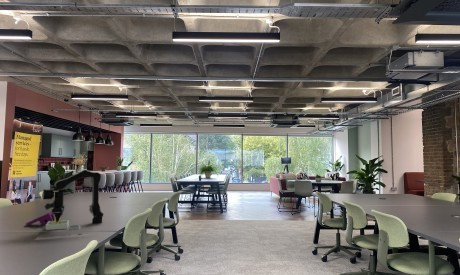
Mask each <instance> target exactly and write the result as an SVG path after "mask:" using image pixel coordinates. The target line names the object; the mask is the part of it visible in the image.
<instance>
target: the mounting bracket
mask: <svg viewBox="0 0 460 275" xmlns="http://www.w3.org/2000/svg"><path fill="white" fill-rule="evenodd" d="M49 221H55V215H54V214H53V213H52V210H51V211H49V212H47V213H45V214H43V215H40V216H38V217H36V218H34V219H32V220H30V221H28V222H26V223H25V226H26V227H28V226H31V225H33V224H35V223H37V222H39V224H40V225H41V226H42V227H46V224H47V223H48V222H49Z"/></svg>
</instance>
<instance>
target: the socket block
mask: <svg viewBox="0 0 460 275" xmlns="http://www.w3.org/2000/svg"><path fill="white" fill-rule="evenodd" d="M81 227H82V226H80V224H75V225H73V224H72V225H70V224H69V226H68V228H67V231H70V230H71V231H72V230H81Z"/></svg>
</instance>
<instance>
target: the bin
mask: <svg viewBox="0 0 460 275" xmlns="http://www.w3.org/2000/svg"><path fill="white" fill-rule="evenodd" d="M69 226H70V220H69V219H67V220H66V219H65V220H61V224H55V221H49V222H48V223H47V224H46V225H45V230H46V231H49V230H51V231H52V230H64V229H65V230H66V229H68V228H69Z"/></svg>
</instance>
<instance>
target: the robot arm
mask: <svg viewBox="0 0 460 275" xmlns="http://www.w3.org/2000/svg"><path fill="white" fill-rule="evenodd" d="M85 176H86V177H88V178H90V181H91V184H92V185H91V188H92V189H91V190H92V192H91V196H92V197H91V198H92V199H91V205H90V204H89V206H88V207H89V209H88V211H89V213H90V214H91V216H92V219H91V222H92V224H96V225H97V224H102V223H103V217H104V213H103V212H102V210H101V206H100V203H99V198H100V196H99V192H100V191H99V190H100V189H99V187H100V186H99V184H100V181H101V177H102V176H101V173H100V172H96V171H93V172H92V171H89V170H86V169H83V170H81V171H79V172H77V173H75V174H73V175H71V176H69V177H67V178H64V179H59V180H56V181H55V182H54V185H53V187H52V188H51V189H42V194H41V199H42V200H52V199H54V200H53V202H48V203H46V204H45V205H44V208H45V210H46V211H47V210H49V209H51V211H52V213H53V214H54V216H55V218H56V222H58V221H59V219H60V218H61V217H62V216H63V213H64V212H65V209H66V208H65V205H64V200H65V199H64V197H65V193H67V192H68V191H67V190H66V187H67V186H68V185H70V184H71V183H73V182H74V181H77V180H78V179H81V178H83V177H85ZM61 219H62V218H61Z"/></svg>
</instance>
